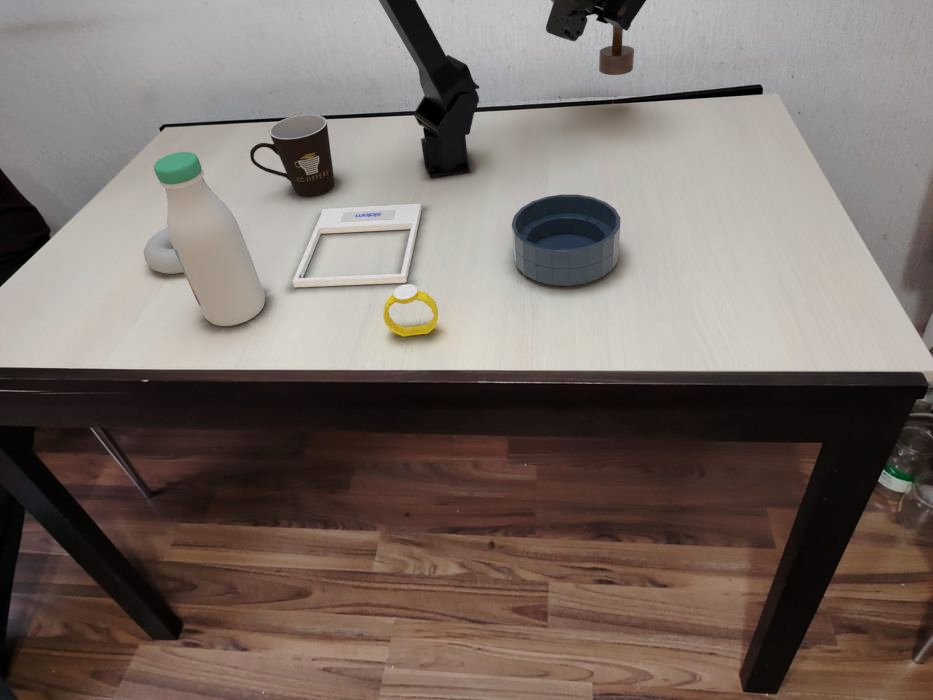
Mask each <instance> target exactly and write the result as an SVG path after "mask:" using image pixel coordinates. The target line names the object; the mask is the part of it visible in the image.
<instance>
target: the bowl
mask: <svg viewBox="0 0 933 700" xmlns="http://www.w3.org/2000/svg"><path fill="white" fill-rule="evenodd" d="M620 236H621V216H620V215H619V213H618V211H617V209H616V208H615V207H613V206H612V205H610V204H609V203H608V202H606V201H604V200H602V199H599V198H596V197H593V196H588V195H582V194H556V195H550V196H545V197H542V198H539V199H535V200H532V201H529V203H527V204H526V205H523V206H522V207H521V208H519V210H517V212H516V213H515V214H514V216H513V218H512V222H511V237H512V238H511V239H512V255H513V260H514V264H515V267H516V268H517V269H518V270H519V271H520V272H521V273H522V274H523V276H525V277H528V278H529V279H531V280H533V281H535V282H539V283H542V284H547V285H551V286H567V287H569V286H578V285H584V284H588V283H591V282H594V281H596V280H599V279H601V278H603V277H604V276H605V275H607V274H608V273H610V272H611V271H612V270H613V269H614V268H615V266H616V264H617V263H618V261H619V249H620Z"/></svg>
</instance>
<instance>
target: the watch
mask: <svg viewBox="0 0 933 700" xmlns="http://www.w3.org/2000/svg"><path fill="white" fill-rule="evenodd" d="M416 300H417V301H419V302H423V303H424V304H426V306H428V307H429V308H430V309H431V311H432V314H433V318H432V319H431V320H430V321H428V323H427V324H422V325H414V326H407V327H405V326H403V325H400V324H398V323H397V322H395V321H394V320H393V318H392V317H391V316H390V313H389V312H390V311H389V310H390V308H391V306H392V305H394V304H395V303H397V304H401V305H407V304H410V303H413V302H414V301H416ZM438 318H439V308H438V305H437V303H436V301H435V299H434V298H433V297H432V296H430V295H429V294H428V293H427V292H425V291H422V290H418V287H417V286H416V285H414V284H411V283H407V284H405V283H404V284H401V285H399V286H397V287H396V288H395V289H394V290H393V292H392V294H391V295H390V296H388V298H387V299H386V302H385V304H384V307H383V319H384V323H385V325H386V326H387V327H388V329H389V330H390V331H391V332H392V333H394V334H396V335H399V336H401V337H403V338H404V337H410V336H419V335H428V334H430V333H431V332H432V330H434V329H435V328H436V326H437V323H438Z"/></svg>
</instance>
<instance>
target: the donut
mask: <svg viewBox="0 0 933 700" xmlns="http://www.w3.org/2000/svg"><path fill="white" fill-rule="evenodd" d="M143 257H144V261H145V263H146V265H148V266H149V268H151V269H152V270H154V271H155V272H159V273H162V274H166V275H167V274H169V275H170V274H171V275H172V274H174V275H175V274H181V273H184V271H183V269H182V267H181V265H180V262H179V260H178V258H177V256H176V253H175V251H174V248H173V246H172V243H171V241H170V237H169V234H168V228H167V227H166V228H164V229H162V230H160V231H158V232H157V233H155V234H154V235H152V236H151V237H150V239H148V240H147V242H146V244H145V246H144V249H143Z"/></svg>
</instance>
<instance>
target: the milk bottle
mask: <svg viewBox="0 0 933 700" xmlns="http://www.w3.org/2000/svg"><path fill="white" fill-rule="evenodd" d="M153 170H154V174H155V176H156V178H157V180H158V181H159V185H160V186H161V187H162V188H164V190H165V194H166V199H167V214H166V215H167V216H166V225H167V226H166V228H168V234H169V237H170V241H171V243H172V246H173V248H174V251H175V253H176V256H177V258H178V260H179V262H180V265H181V267H182V269H183V271H184V272H183V274H184V275H185V278H186V280H187V282H188V284H189V287H190V289H191V291H192V294H193V295H194V297H195V300H196V302H197V304H198V306H199V310H201V312H202V314H203V317H204V318H205V320H206V321H208V322H209V323H211V325H212V324H213V325H214V326H220V327H231V326H237V325H239V324H243V323H246V322H248V321H250V320H252V319H253V318H255V317H256V316H257V315H258V314H260V313H261V311H262V310H263V308H264V307H265V303H266V295H265V291H264V289H263V286H262V282H261V281H260V278H259V275H258V273H257V270H256V267H255V264H254V262H253V259H252V256H251V254H250V251H249V249H248V245H247V243H246V241H245V238H244V235H243V233H242V231H241V228H240V226H239V223H238V221H237V218H236V217H235V215H234V213H233V212H232V211H231V209H230V208H229V206H228V205H227V204H226V203H225V202H224V200H222V199H221V198H220V197H219V196H218V195H217V194H216V193H215V192H214V191H213V190H212V188H211V187H210V186H209V185H208V183H207V182H206V180H205V178H204V175H205V172H204V170H203V169H202V165H201V162H200V159H199V157H198V156H197V154H195V153H193V152H190V151H179V152H173V153H170V154H167V155H165V156H163V157H161V158H160V159H158V160H157V161H156V162H155V163H154V165H153Z"/></svg>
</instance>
